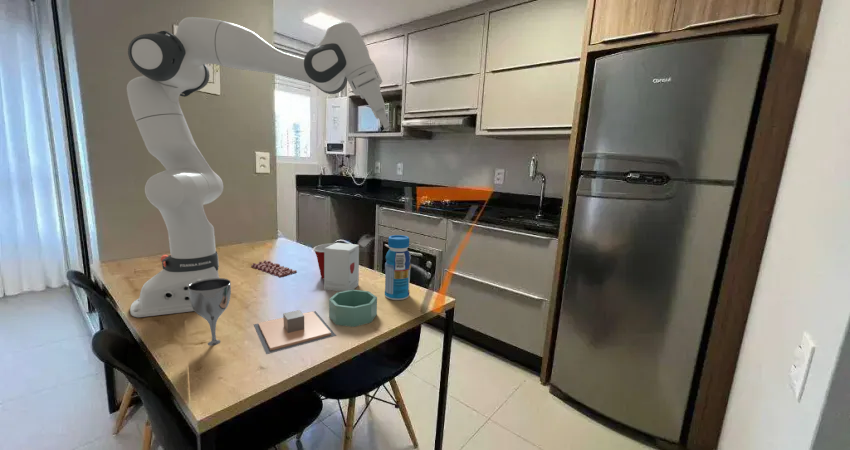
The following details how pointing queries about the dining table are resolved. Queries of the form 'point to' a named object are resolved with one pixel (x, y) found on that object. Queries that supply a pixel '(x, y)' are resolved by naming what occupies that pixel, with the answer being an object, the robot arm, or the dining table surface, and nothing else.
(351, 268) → the supplement box
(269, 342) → the cover
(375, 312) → the bowl
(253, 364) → the dining table surface
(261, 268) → the chocolate bar
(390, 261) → the beverage bottle
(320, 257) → the plastic cup
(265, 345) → the mat
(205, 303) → the wine glass
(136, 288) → the dining table surface
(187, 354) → the dining table surface
